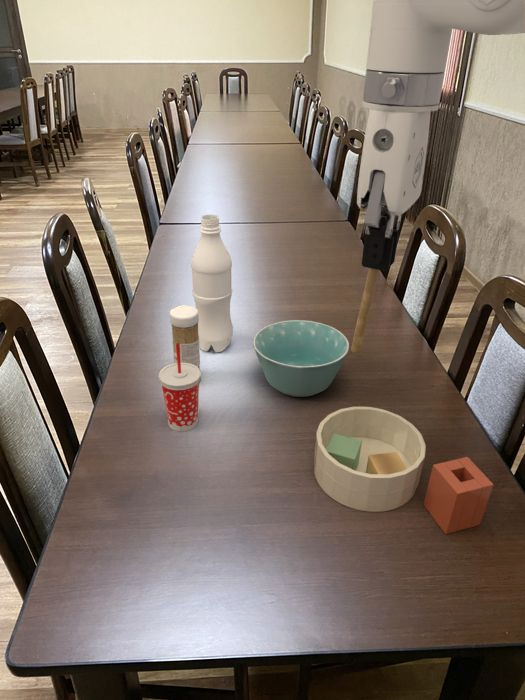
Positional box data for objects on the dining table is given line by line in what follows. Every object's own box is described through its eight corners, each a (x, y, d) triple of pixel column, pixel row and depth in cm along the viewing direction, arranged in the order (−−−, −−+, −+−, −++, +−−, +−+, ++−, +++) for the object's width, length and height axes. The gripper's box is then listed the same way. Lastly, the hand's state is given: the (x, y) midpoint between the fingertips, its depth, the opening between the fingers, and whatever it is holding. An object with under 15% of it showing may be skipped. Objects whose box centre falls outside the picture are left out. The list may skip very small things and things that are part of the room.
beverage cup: (160, 413, 85) (152, 336, 77) (198, 406, 86) (194, 330, 79) (166, 438, 80) (159, 358, 72) (207, 430, 81) (203, 351, 74)
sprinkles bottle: (173, 374, 94) (168, 305, 87) (199, 371, 95) (196, 303, 88) (176, 389, 90) (171, 318, 83) (203, 385, 91) (200, 315, 84)
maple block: (392, 473, 73) (397, 451, 71) (404, 495, 70) (409, 472, 68) (364, 477, 72) (368, 455, 70) (375, 499, 69) (379, 476, 67)
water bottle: (194, 337, 105) (187, 211, 92) (230, 335, 106) (228, 210, 93) (196, 357, 99) (189, 225, 86) (235, 354, 100) (234, 223, 87)
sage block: (358, 462, 75) (362, 440, 73) (351, 481, 72) (355, 459, 70) (331, 454, 76) (333, 432, 74) (322, 473, 73) (325, 451, 71)
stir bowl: (385, 430, 82) (390, 399, 79) (438, 498, 71) (447, 464, 67) (298, 449, 78) (301, 416, 75) (340, 523, 67) (345, 488, 64)
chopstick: (358, 348, 70) (390, 215, 60) (360, 353, 69) (393, 219, 59) (349, 347, 70) (380, 214, 60) (351, 353, 69) (382, 218, 59)
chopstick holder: (455, 496, 71) (467, 456, 67) (480, 525, 67) (493, 484, 63) (423, 504, 70) (433, 464, 66) (445, 534, 66) (457, 493, 62)
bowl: (235, 374, 95) (235, 333, 90) (306, 349, 102) (309, 311, 98) (287, 422, 83) (290, 378, 79) (363, 390, 91) (369, 349, 87)
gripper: (422, 102, 46) (391, 297, 55) (454, 87, 58) (424, 250, 67) (339, 96, 49) (323, 282, 58) (386, 83, 61) (366, 240, 70)
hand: (377, 264), depth 63 cm, fingers closed on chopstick, 1 cm apart
